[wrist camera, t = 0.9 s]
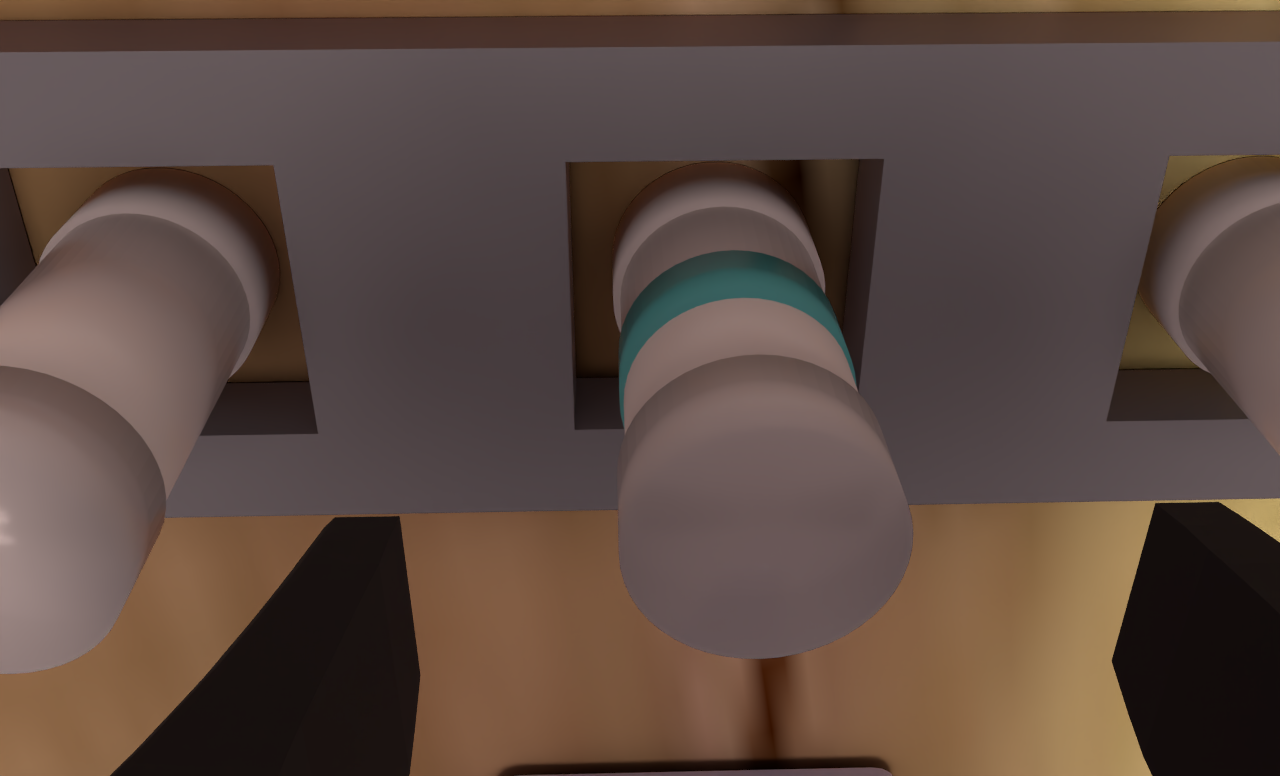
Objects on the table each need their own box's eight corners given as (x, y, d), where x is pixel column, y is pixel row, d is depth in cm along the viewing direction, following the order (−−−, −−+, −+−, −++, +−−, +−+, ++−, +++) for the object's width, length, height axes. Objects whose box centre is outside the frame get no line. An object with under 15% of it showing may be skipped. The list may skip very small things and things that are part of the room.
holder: (1414, 441, 20) (1469, 494, 19) (-25, 465, 20) (-68, 522, 19) (1587, 8, 17) (1670, 38, 15) (-180, 22, 16) (-247, 53, 15)
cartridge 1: (293, 348, 19) (152, 671, 13) (99, 351, 19) (-132, 677, 13) (262, 166, 17) (85, 437, 11) (50, 168, 17) (-239, 442, 11)
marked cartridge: (803, 341, 19) (895, 655, 13) (613, 344, 19) (619, 661, 13) (817, 161, 18) (931, 425, 12) (610, 163, 18) (616, 429, 12)
